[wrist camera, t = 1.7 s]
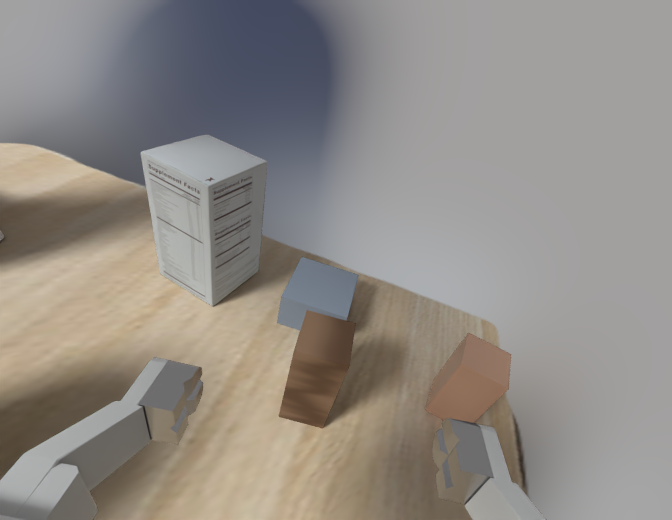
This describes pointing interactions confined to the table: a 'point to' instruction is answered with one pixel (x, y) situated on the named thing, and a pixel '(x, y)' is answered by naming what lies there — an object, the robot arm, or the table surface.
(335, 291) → the slate block
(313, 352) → the walnut post
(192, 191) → the supplement box
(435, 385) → the terracotta post
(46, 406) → the table surface
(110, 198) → the table surface
